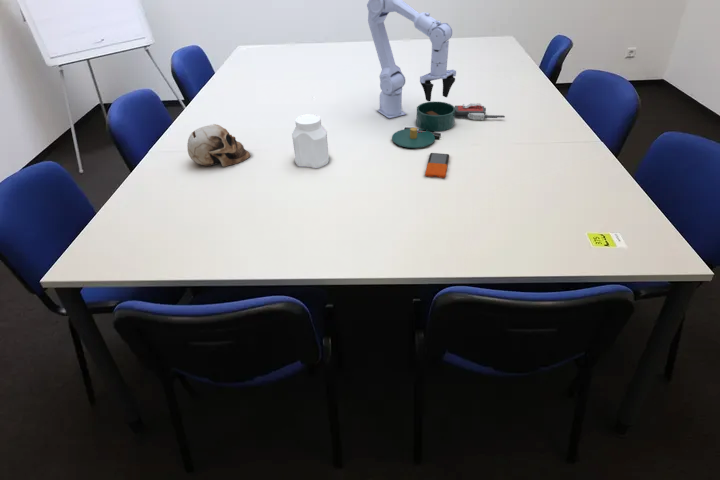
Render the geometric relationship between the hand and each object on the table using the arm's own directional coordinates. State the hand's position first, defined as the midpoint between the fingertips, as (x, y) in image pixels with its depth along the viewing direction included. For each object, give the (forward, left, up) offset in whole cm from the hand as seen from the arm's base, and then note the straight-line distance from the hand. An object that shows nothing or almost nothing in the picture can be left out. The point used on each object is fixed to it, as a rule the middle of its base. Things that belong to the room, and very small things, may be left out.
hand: (436, 98), depth 176 cm
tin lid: (+8, -15, -9) cm, 19 cm away
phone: (+29, -19, -10) cm, 36 cm away
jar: (+4, -53, -10) cm, 54 cm away
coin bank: (-13, -80, -10) cm, 82 cm away
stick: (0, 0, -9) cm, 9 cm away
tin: (0, 0, -10) cm, 10 cm away
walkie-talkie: (+3, +18, -10) cm, 21 cm away
